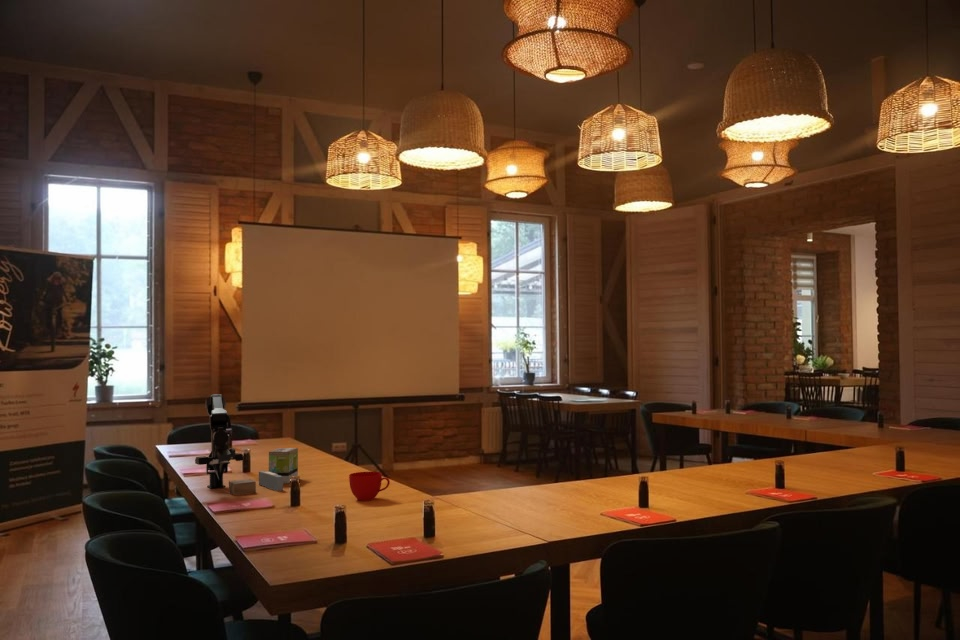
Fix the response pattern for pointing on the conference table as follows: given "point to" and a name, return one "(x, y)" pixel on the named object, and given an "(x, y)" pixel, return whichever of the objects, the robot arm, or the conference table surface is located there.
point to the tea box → (284, 462)
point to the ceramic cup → (366, 485)
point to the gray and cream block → (271, 480)
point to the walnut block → (242, 486)
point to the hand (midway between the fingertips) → (219, 479)
